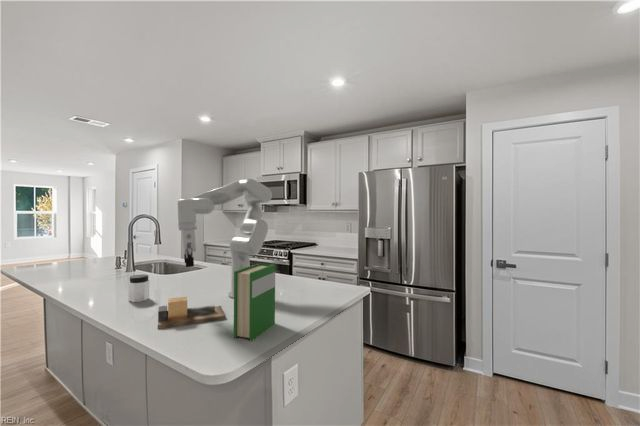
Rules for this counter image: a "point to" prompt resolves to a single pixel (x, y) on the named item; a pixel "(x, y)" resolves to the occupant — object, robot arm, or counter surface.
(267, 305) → the hardback book
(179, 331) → the counter surface
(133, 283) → the jar
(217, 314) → the rail board
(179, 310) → the wooden block
